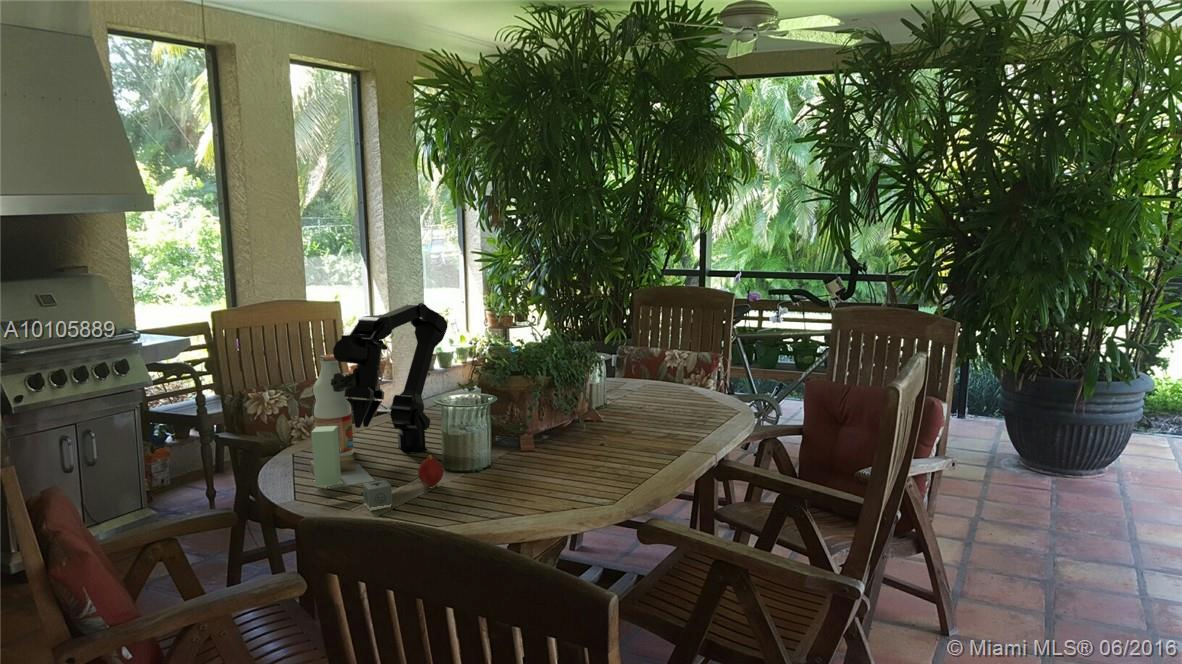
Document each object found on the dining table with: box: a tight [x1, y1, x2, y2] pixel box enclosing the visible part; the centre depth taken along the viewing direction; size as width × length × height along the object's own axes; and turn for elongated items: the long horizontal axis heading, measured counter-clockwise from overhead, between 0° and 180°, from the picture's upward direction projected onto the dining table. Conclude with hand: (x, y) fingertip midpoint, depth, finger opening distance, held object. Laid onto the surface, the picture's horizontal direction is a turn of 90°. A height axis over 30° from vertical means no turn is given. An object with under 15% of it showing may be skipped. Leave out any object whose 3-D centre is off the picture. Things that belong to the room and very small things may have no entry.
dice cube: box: [362, 479, 393, 508], centre depth 184 cm, size 5×5×5 cm
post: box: [310, 426, 341, 485], centre depth 197 cm, size 5×5×13 cm
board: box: [314, 463, 376, 490], centre depth 202 cm, size 14×16×1 cm
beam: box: [309, 454, 356, 476], centre depth 206 cm, size 10×4×3 cm, turn 119°
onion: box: [417, 454, 444, 488], centre depth 196 cm, size 6×6×8 cm
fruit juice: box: [312, 353, 355, 457], centre depth 220 cm, size 9×9×28 cm
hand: (361, 427), depth 209 cm, fingers open, 9 cm apart
